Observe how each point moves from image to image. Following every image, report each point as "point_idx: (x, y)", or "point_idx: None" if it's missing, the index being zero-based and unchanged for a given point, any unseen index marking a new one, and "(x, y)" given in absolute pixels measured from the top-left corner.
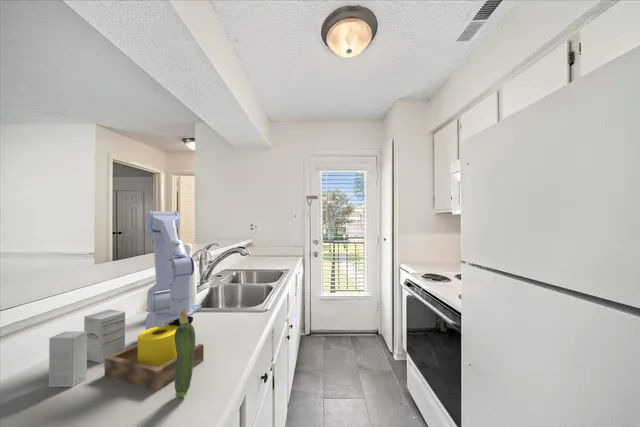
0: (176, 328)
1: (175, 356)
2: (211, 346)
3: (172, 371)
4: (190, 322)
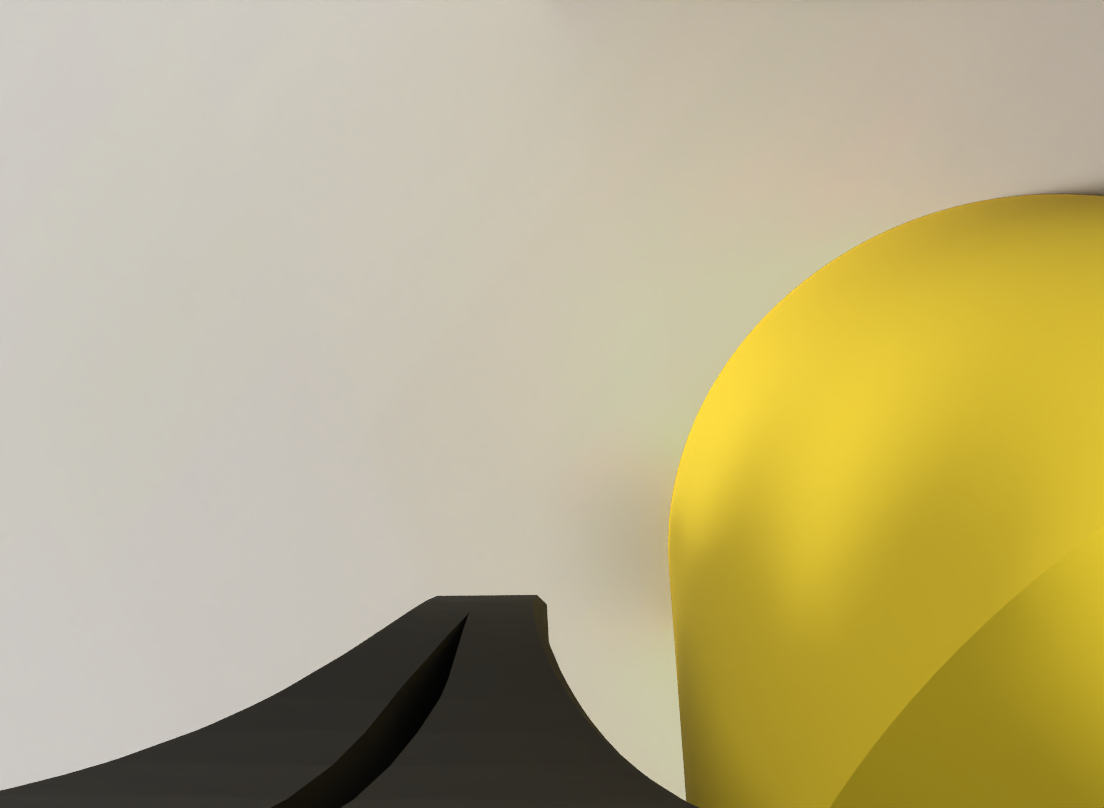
0: (1049, 788)
1: (1060, 213)
2: (27, 231)
3: None
4: (59, 798)
